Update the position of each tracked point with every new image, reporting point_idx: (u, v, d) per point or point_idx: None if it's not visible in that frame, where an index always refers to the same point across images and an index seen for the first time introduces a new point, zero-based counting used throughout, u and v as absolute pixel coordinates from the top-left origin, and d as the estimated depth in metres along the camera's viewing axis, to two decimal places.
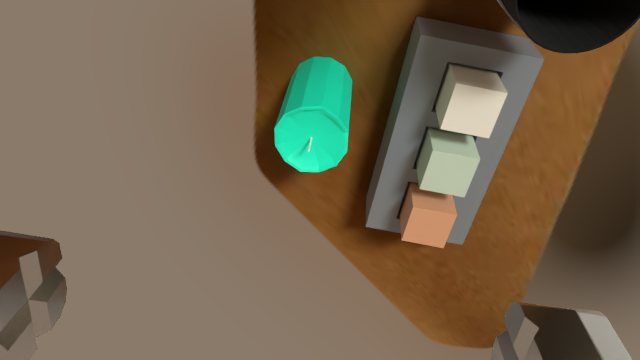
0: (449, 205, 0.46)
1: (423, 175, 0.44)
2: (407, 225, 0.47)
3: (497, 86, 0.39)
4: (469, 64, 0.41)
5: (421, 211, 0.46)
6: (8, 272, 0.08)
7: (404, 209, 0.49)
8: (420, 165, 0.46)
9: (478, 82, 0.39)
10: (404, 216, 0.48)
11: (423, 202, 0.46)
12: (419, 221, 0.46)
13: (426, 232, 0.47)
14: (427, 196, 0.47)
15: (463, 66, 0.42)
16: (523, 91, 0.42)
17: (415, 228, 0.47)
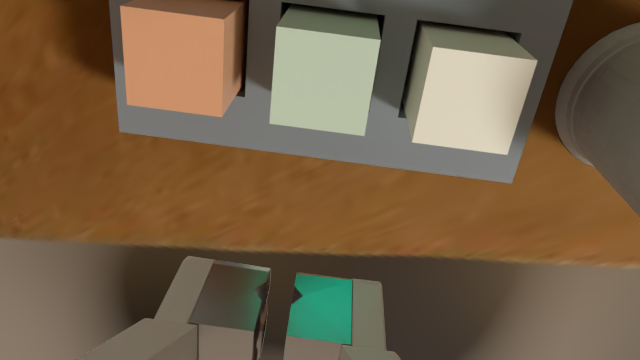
0: (229, 95, 0.22)
1: (310, 29, 0.20)
2: (167, 13, 0.19)
3: None
4: None
5: (214, 40, 0.20)
6: (253, 305, 0.08)
7: None
8: (307, 18, 0.21)
9: None
10: (172, 2, 0.21)
11: (229, 41, 0.21)
12: (187, 40, 0.20)
13: (160, 61, 0.20)
14: (234, 45, 0.22)
15: None
16: (456, 166, 0.26)
17: (165, 34, 0.20)
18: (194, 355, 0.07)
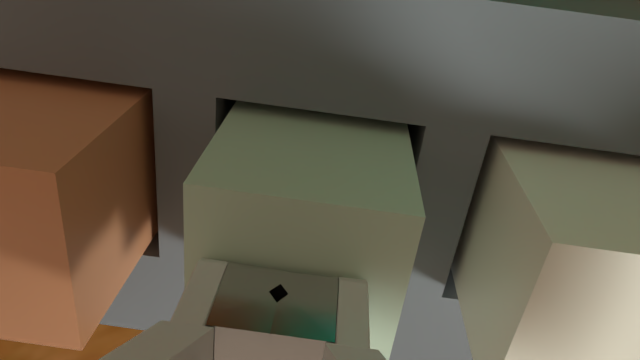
0: (108, 287, 0.11)
1: (263, 188, 0.09)
2: None
3: None
4: None
5: (41, 215, 0.09)
6: (268, 307, 0.08)
7: (9, 97, 0.11)
8: (266, 136, 0.10)
9: None
10: None
11: (88, 199, 0.09)
12: None
13: None
14: (116, 190, 0.11)
15: None
16: None
17: None
18: (210, 357, 0.07)
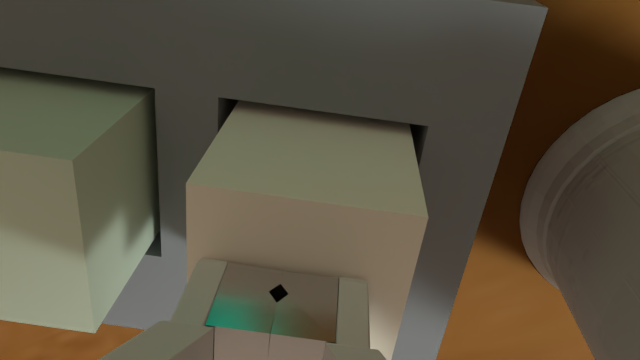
0: None
1: None
2: None
3: None
4: None
5: None
6: (268, 307, 0.08)
7: None
8: None
9: None
10: None
11: None
12: None
13: None
14: None
15: None
16: None
17: None
18: (210, 357, 0.07)
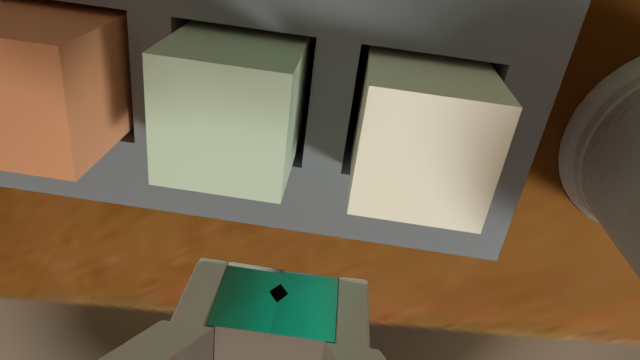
0: (94, 147, 0.16)
1: (193, 58, 0.14)
2: None
3: None
4: None
5: (49, 76, 0.13)
6: (268, 307, 0.08)
7: (28, 13, 0.15)
8: (204, 37, 0.15)
9: None
10: (4, 17, 0.15)
11: (81, 74, 0.14)
12: (10, 75, 0.14)
13: None
14: (100, 78, 0.16)
15: None
16: (422, 238, 0.19)
17: None
18: (210, 357, 0.07)
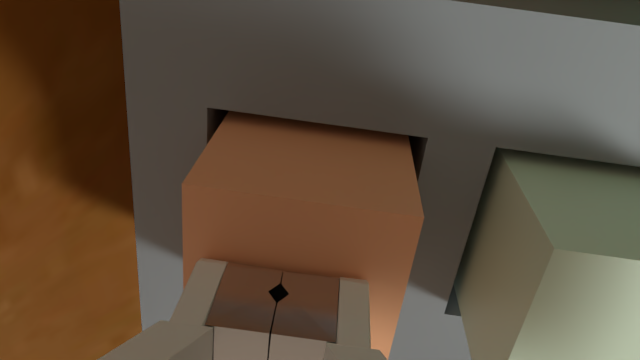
0: None
1: (630, 252, 0.08)
2: (292, 202, 0.08)
3: None
4: None
5: (392, 256, 0.09)
6: (267, 307, 0.08)
7: (297, 132, 0.11)
8: (566, 187, 0.10)
9: None
10: (282, 148, 0.10)
11: None
12: (331, 253, 0.09)
13: None
14: None
15: None
16: None
17: (282, 241, 0.09)
18: (209, 357, 0.07)
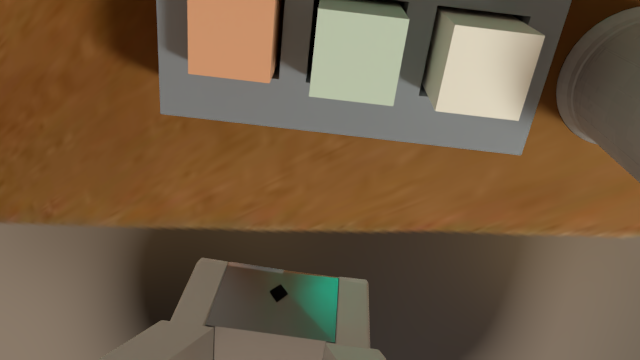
0: (273, 65, 0.26)
1: (347, 11, 0.22)
2: None
3: None
4: None
5: (266, 16, 0.24)
6: (268, 307, 0.08)
7: None
8: (340, 2, 0.24)
9: None
10: None
11: (275, 17, 0.24)
12: (243, 16, 0.24)
13: (219, 35, 0.24)
14: (277, 23, 0.26)
15: None
16: (471, 140, 0.28)
17: (224, 11, 0.24)
18: (210, 357, 0.07)
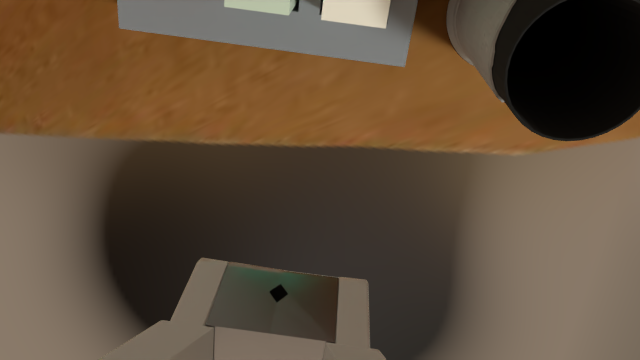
0: None
1: None
2: None
3: None
4: None
5: None
6: (268, 307, 0.08)
7: None
8: None
9: None
10: None
11: None
12: None
13: None
14: None
15: None
16: (363, 53, 0.35)
17: None
18: (210, 357, 0.07)
